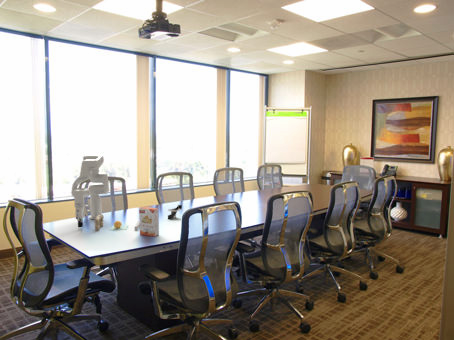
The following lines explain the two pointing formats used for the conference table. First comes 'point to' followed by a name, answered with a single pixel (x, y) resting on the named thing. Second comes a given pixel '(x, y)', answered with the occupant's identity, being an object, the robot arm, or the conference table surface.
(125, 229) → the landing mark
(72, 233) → the conference table surface
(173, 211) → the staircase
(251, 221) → the conference table surface
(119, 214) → the conference table surface
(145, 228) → the cracker box
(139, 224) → the stopper
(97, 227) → the bridge
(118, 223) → the ball
